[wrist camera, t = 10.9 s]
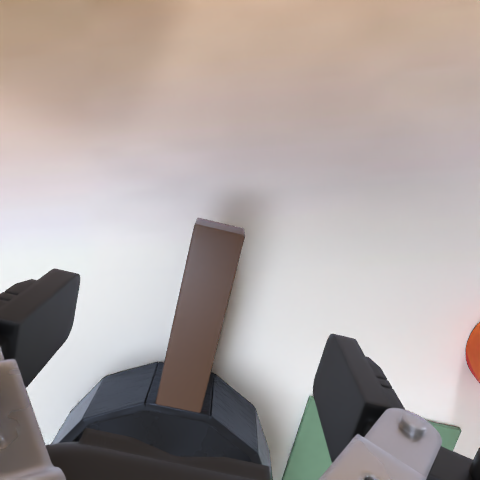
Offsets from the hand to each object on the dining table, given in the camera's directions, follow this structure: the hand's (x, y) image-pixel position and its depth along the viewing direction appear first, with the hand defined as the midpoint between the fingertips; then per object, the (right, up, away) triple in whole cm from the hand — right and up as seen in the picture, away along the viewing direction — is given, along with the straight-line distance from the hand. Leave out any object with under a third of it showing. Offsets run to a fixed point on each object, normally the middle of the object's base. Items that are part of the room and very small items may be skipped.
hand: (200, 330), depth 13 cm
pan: (-2, -6, +13) cm, 14 cm away
